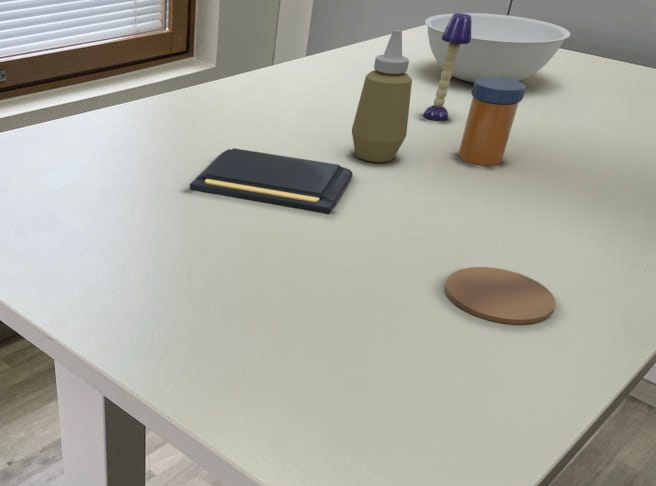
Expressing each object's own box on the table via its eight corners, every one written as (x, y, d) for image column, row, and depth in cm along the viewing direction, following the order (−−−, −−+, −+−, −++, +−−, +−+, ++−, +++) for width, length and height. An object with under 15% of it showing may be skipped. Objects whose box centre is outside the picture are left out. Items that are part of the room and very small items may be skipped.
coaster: (573, 301, 76) (575, 296, 76) (517, 336, 71) (519, 331, 70) (481, 262, 83) (482, 257, 83) (423, 291, 78) (425, 286, 77)
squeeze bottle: (388, 170, 106) (413, 39, 96) (338, 157, 110) (358, 30, 99) (409, 155, 111) (436, 30, 101) (361, 143, 115) (382, 22, 105)
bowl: (412, 89, 142) (423, 35, 136) (416, 57, 163) (426, 9, 157) (561, 104, 135) (579, 47, 130) (545, 69, 157) (561, 19, 151)
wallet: (357, 163, 103) (330, 202, 92) (355, 175, 104) (328, 215, 93) (226, 141, 109) (186, 175, 98) (225, 153, 111) (186, 188, 99)
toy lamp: (442, 112, 130) (466, 11, 120) (456, 120, 126) (482, 16, 116) (418, 114, 129) (440, 12, 119) (432, 122, 125) (456, 17, 115)
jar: (509, 159, 111) (531, 88, 105) (486, 168, 108) (507, 95, 101) (473, 147, 115) (491, 78, 109) (449, 156, 112) (467, 85, 105)
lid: (531, 98, 105) (535, 85, 104) (505, 106, 102) (509, 93, 101) (488, 87, 110) (491, 74, 109) (461, 95, 106) (464, 81, 105)
